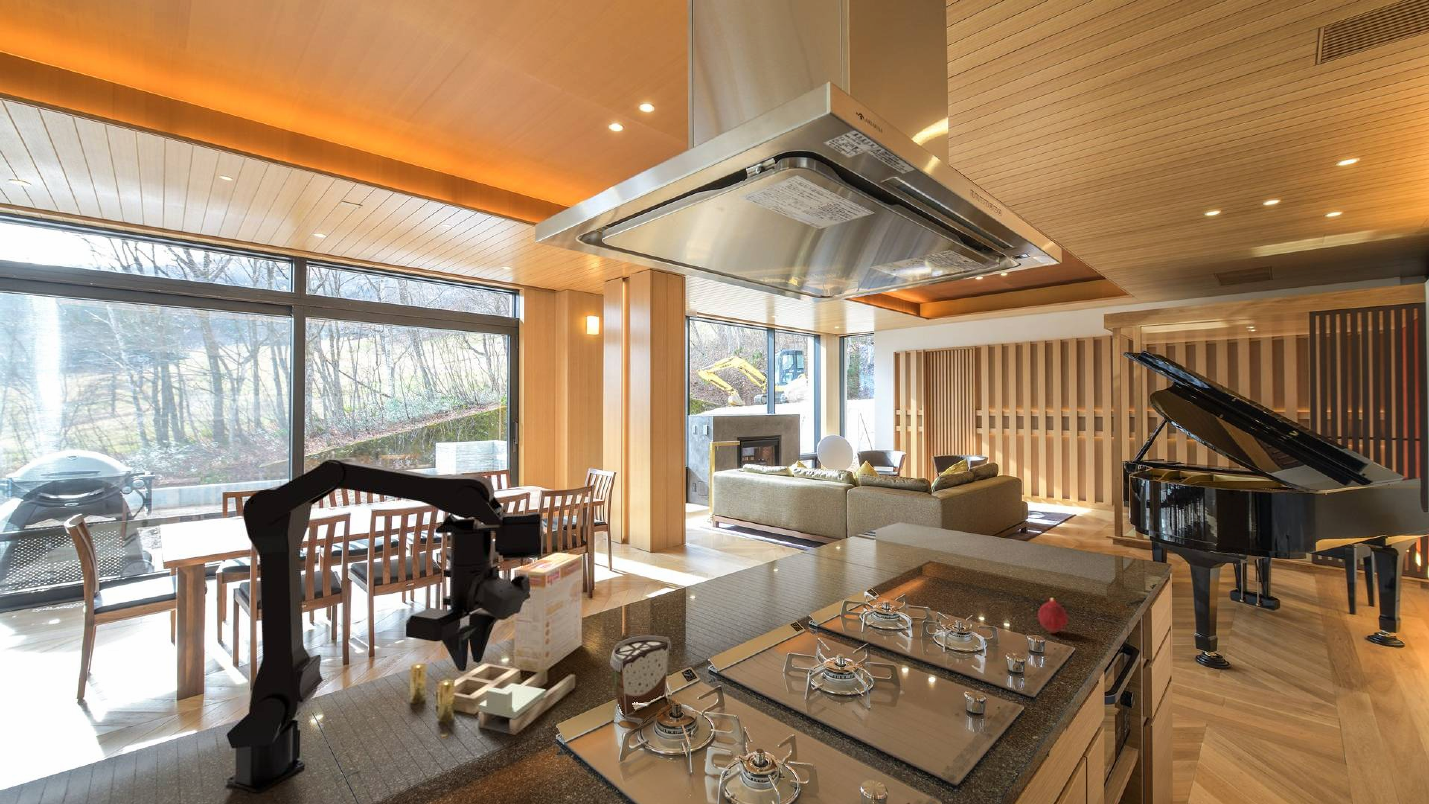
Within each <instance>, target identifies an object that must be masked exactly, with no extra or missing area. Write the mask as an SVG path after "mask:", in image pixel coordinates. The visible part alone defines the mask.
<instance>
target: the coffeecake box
mask: <svg viewBox="0 0 1429 804" xmlns="http://www.w3.org/2000/svg"><path fill="white" fill-rule="evenodd" d="M513 573H514V575H513V578H515V577H516V576H519V575H521V574H523V575H525V576H527V577H529V581H530V591H529V594H530V598H529V599H527V600H525V601H524V602H523V604H522V607H521V610H520V612H519V613H517V614H516V613H515V614H513V615H514V616H513V621H514V622H513V623H514V624H513V668H515V669H520V671H526V672H532V673H536V674H537V673H538V672H540V671H541V670H547V671H548V670H549V669H551V667H553V666H555V664H557V663H559V662H560V661H561V660H563V659H564V658H566V657H567V656H568V655H570V654H571V653H573V652H574V651H575V650H577V649H578V648H579V647H580V646H582V645H583V640H582V639H583V638H582V637H583V635H582V634H583V633H582V631H583V630H582V629H583V626H582V625H583V624H582V623H583V618H582V617H583V612H582V611H583V609H582V608H583V603H582V602H583V601H582V600H583V555H582V554H571V553H564V552H555V553H552V554H550V555H547V556H546V557H545V556H544V557H542V558H541V559H540V558H539V559H538V560H535V561H533V562H531V563H529V564H526V565H524V566H521V567H519V568H516V569H514V570H513Z"/></svg>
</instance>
